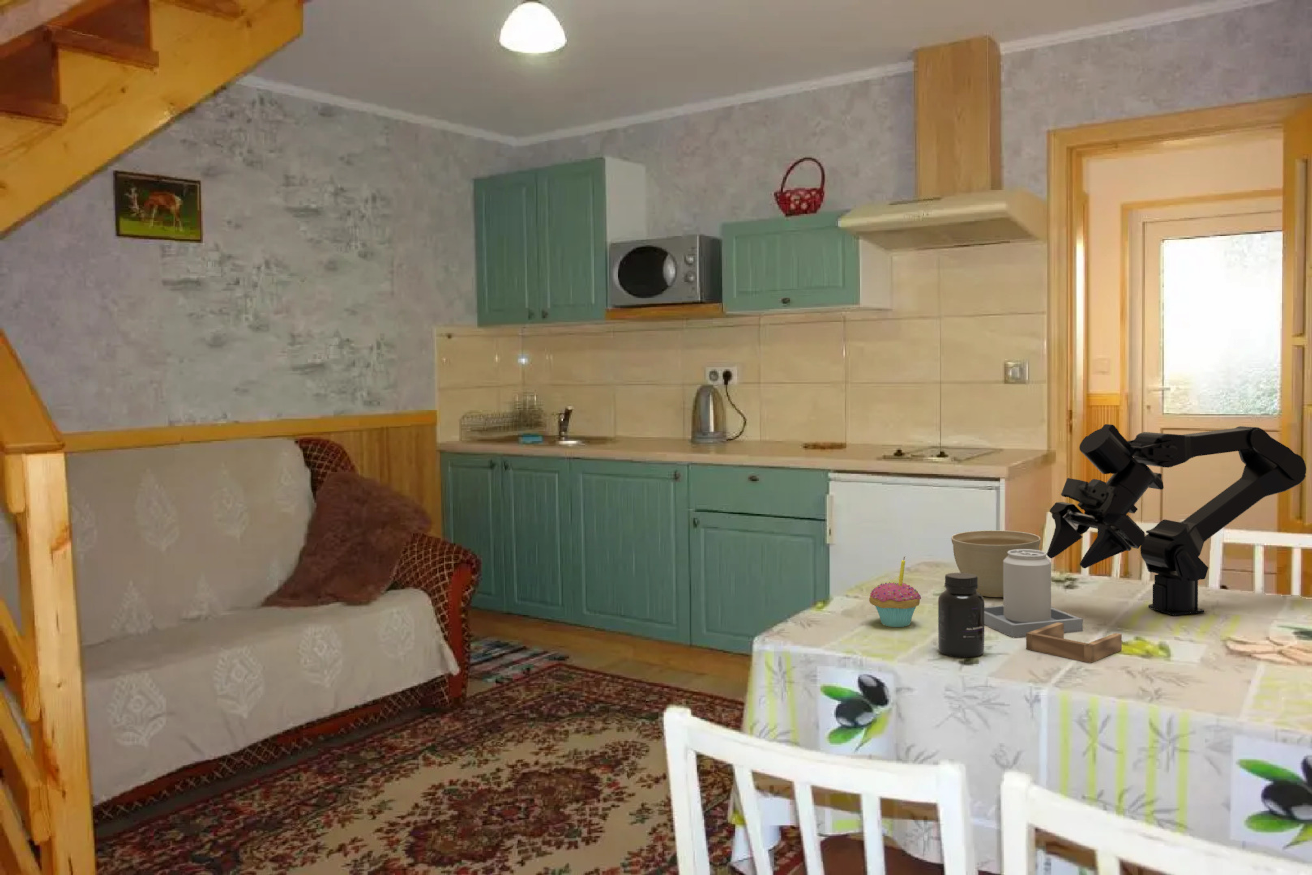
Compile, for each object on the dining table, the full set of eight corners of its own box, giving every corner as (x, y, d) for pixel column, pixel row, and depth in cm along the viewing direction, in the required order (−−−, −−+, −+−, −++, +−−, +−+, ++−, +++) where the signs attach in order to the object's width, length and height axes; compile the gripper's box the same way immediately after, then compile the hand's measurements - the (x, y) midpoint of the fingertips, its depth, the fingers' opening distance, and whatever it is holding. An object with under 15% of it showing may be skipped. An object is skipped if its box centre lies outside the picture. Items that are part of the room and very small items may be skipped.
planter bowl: (968, 580, 208) (967, 527, 207) (1050, 588, 198) (1050, 533, 197) (939, 596, 195) (939, 540, 194) (1026, 606, 185) (1026, 546, 184)
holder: (1057, 637, 164) (1057, 622, 164) (1121, 650, 156) (1121, 634, 156) (1026, 648, 158) (1026, 633, 158) (1090, 662, 150) (1090, 646, 150)
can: (1042, 629, 167) (1042, 557, 166) (997, 623, 172) (996, 552, 171) (1056, 619, 173) (1056, 549, 172) (1012, 614, 178) (1012, 545, 177)
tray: (1038, 613, 180) (1038, 602, 180) (1082, 630, 167) (1082, 618, 167) (972, 619, 177) (972, 607, 177) (1013, 637, 165) (1013, 625, 165)
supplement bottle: (978, 660, 153) (977, 581, 152) (932, 655, 157) (931, 577, 156) (989, 649, 159) (989, 572, 158) (945, 644, 162) (944, 569, 162)
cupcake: (929, 622, 176) (928, 553, 175) (905, 633, 170) (903, 561, 169) (885, 615, 182) (884, 548, 181) (860, 625, 176) (858, 556, 175)
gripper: (1058, 456, 182) (1003, 522, 181) (1128, 465, 164) (1067, 539, 162) (1098, 497, 184) (1044, 563, 183) (1171, 510, 166) (1112, 584, 165)
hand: (1064, 561), depth 173 cm, fingers open, 9 cm apart
